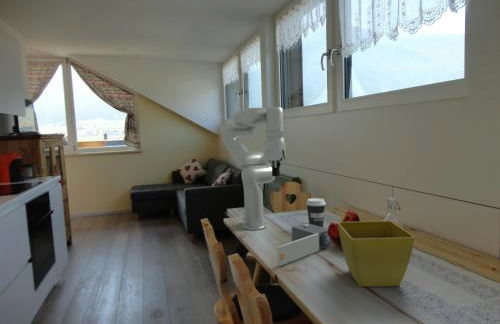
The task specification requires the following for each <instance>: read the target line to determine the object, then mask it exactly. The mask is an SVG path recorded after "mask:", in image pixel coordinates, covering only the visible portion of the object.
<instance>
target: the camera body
mask: <svg viewBox="0 0 500 324" xmlns="http://www.w3.org/2000/svg"><path fill="white" fill-rule="evenodd" d="M328 229H329V228H327V227H324V226H323V227H320V226H316V225H312V224H309V222H304V223H301V224H297V225H293V226H291V236H292V238H291V240H292V241H291V242H293V241H296V240H298V239H301V238H304V237H307V236H310V235H313V234H316V233H318V234H319V251H320V250H323V249H325V248H327V247H330V246H331V245H332V239H331V240H330V236H329V235H328Z"/></svg>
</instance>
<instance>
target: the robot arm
mask: <svg viewBox="0 0 500 324" xmlns="http://www.w3.org/2000/svg"><path fill="white" fill-rule="evenodd" d="M232 121H233V123H234V124H235V125H229V126H225V128H224V127H223V129H222V132H221V138H222V141H223V144H224V146H225V148H226V149H227V150H228V152H229V153H230V154H231V155H232V157H233V159H234V161H235V162H236V165H237V167H239V169H240V170H241V180H242V184H243V186H242V187H243V197H244V199H243V201H244V204H243V205H244V217H242V218H241V220H242V221H243V222H244V223H242V225H241V227H242V228H243V229H245V230H247V231H248V230H249V231H259V230H263V229H266V228H267V226H268V225H267V223H266V222H264V198H263V197H264V195H263V190H262V189H261V187H260V186H259V185H262V184H263V185H264V184H269V183H272V182H274V181H275V178H276V177H280V175H281V173H280V171H281V169H280V168H281V166H282V165H283V164H285V163H286V161H285V160H286V158H287V151H286V142H285V141H286V140H285V137H284V109H283V107H281V106H269V107H249V108H244V109H240V110H237V111H236V112H235V113H234V114H233V115H232ZM259 125H266V126H265V127H266V130H265V131H266V133H265V135H266V138H265V139H264V147H263V149H264V151H263V152H262V151H249V150H248V148H247V147H246V146H245V144H243V143H242V142H240V141H250V140H252V139H253V138H254V136H255V134H256V132H257V130H258V128H259Z"/></svg>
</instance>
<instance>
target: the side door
mask: <svg viewBox="0 0 500 324" xmlns="http://www.w3.org/2000/svg"><path fill="white" fill-rule="evenodd" d="M316 252H320V250H319V234H318V233H316V234H313V235H310V236H307V237H304V238H301V239H298V240H296V241H293V242H292V241H290V242H287V243H284V244H281V245H278V246H277V266H279V267H280V266H283V265H285V264H289V263H291V262H294V261H296V260H299V259H301V258H304V257H306V256H309V255H312V254H314V253H316Z"/></svg>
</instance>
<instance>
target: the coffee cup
mask: <svg viewBox="0 0 500 324" xmlns="http://www.w3.org/2000/svg"><path fill="white" fill-rule="evenodd" d="M326 203H327V202H326V201H325V199H324V198H319V197H311V198H308V199H307V201H306V203H305V205H306V207H307V217H308V223H309V224H312V225H316V226H320V227H324V221H325V207H326V205H327V204H326Z"/></svg>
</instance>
